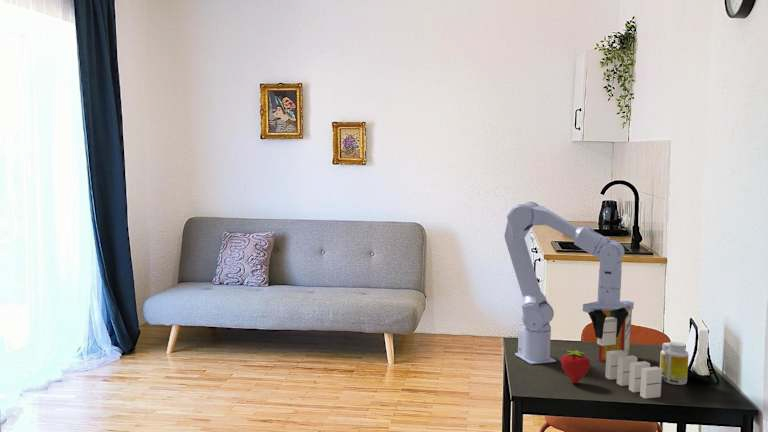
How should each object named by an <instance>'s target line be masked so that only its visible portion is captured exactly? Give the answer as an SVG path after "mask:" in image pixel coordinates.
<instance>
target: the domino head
mask: <svg viewBox="0 0 768 432" xmlns="http://www.w3.org/2000/svg"><path fill="white" fill-rule="evenodd" d="M616 331H617V319H616V318H614V317H608V318H605V322H604V326H603V336H602V338H601V339H599V338H597V339H596V340H597V341H596V344H597V345H599V346H600V345H601V346H605V345H616Z"/></svg>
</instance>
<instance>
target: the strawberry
mask: <svg viewBox="0 0 768 432" xmlns="http://www.w3.org/2000/svg"><path fill="white" fill-rule="evenodd" d="M566 352H569V353H564V354H563V356H561V359H560V364H561V368H562V370H563V371H564V373H565V375H566V376H567V377H568V378H569V380H570V381H571V382H572V383H573V384H577V383H579V381H581V380H582V379H583V378H584V377H585V376H586V375H587V373H588V372H589V370H590V367H591V362H590V360H589V358H588V357H587V356H586V354H585V352H582V351H579V350H578V349H577V350H569V349H568V350H566Z"/></svg>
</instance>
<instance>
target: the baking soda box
mask: <svg viewBox="0 0 768 432" xmlns="http://www.w3.org/2000/svg"><path fill="white" fill-rule="evenodd" d="M625 311H628V316H627V317H626V319H625V320H624V322H623V324H622V326H621V329H620V332H619V335H618V337H616V345H605V346H601V345H599V347H598V348H599V349H598V351H599V352H598V362H601V363H602V362H603V363H606V351H614V350H622V351H624V352H626V353H625V356H631V355H630V353H631V334H632V333H631V332H632V331H631V330H632V329H631V328H632V317H633V316H632V312H633V309H631V310H630V309H625ZM602 312H603V314H605V315H606V318H608V317H611V315H610V310H607V311H602Z"/></svg>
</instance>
